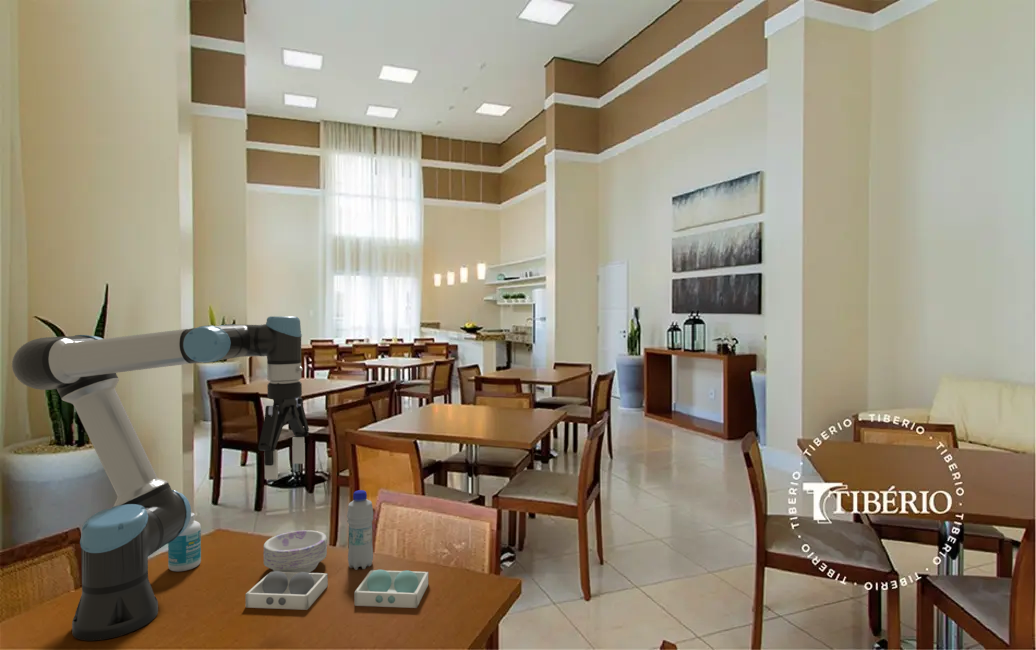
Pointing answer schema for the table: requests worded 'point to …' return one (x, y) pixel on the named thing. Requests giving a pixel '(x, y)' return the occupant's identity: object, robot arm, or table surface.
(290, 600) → the dish left
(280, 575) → the charcoal ball
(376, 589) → the teal ball
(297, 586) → the charcoal ball
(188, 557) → the pill bottle
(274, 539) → the paper bowls
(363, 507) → the bottle
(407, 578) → the teal ball
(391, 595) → the dish right
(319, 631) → the table surface
